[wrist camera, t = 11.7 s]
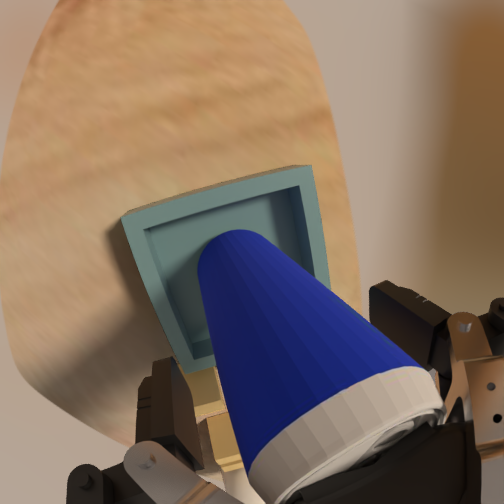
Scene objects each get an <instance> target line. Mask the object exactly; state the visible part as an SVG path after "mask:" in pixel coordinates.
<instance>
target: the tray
mask: <svg viewBox="0 0 504 504" xmlns="http://www.w3.org/2000/svg"><path fill="white" fill-rule="evenodd" d="M120 218H121V221H122V224H123V227H124V230H125V233H126V236H127V239H128V242H129V245H130V248H131V250H132V253H133V256H134V259H135V262H136V264H137V267H138V270H139V272H140V275H141V277H142V280H143V283H144V285H145V288H146V290H147V293H148V295H149V298H150V300H151V302H152V305H153V307H154V309H155V312H156V314H157V316H158V319H159V321H160V323H161V325H162V328H163V330H164V332H165V334H166V336H167V339H168V341H169V343H170V345H171V347H172V349H173V351H174V353H175V355H176V357H177V359H178V361H179V363H180V365H181V367H182V369H183V371H184V373H185V374H189V373H192V372H196V371H200V370H203V369H207V368H210V367H213V366H217V365H216V361H215V357H214V352H213V348H212V343H211V339H210V334H209V330H208V325H207V320H206V316H205V311H204V306H203V301H202V296H201V291H200V285H199V280H198V275H197V267H198V261H199V258H200V255H201V253H202V251H203V250H204V248H205V247H206V246H207V244H208V243H209V242H210V241H211V240H212V239H214V238H215V237H216V236H218V235H220V234H222V233H224V232H227V231H230V230H236V229H244V230H250V231H253V232H256V233H258V234H260V235H262V236H263V237H264V238H266V239H267V240H268V241H270V242H271V243H272V244H273V245H275V246H276V247H277V248H278V249H280V250H281V251H282V252H283V253H285V254H286V255H287V256H288V257H290V258H291V259H292V260H293V261H295V262H296V263H297V264H298V265H300V266H301V267H302V268H303V269H305V270H306V271H307V272H308V273H310V274H311V275H312V276H313V277H314V278H316V279H317V280H318V281H319V282H321V283H322V284H323V285H324V286H326V287H327V288H328V289H329V290H331V286H330V277H329V270H328V262H327V255H326V247H325V241H324V234H323V227H322V221H321V215H320V209H319V203H318V198H317V192H316V187H315V181H314V176H313V171H312V166H311V165H292V166H287V167H283V168H278V169H274V170H270V171H265V172H261V173H257V174H253V175H249V176H245V177H241V178H237V179H233V180H229V181H225V182H221V183H218V184H214V185H210V186H207V187H203V188H200V189H196V190H193V191H189V192H186V193H183V194H179V195H176V196H173V197H169V198H166V199H163V200H160V201H157V202H153V203H150V204H147V205H144V206H141V207H138V208H135V209H132V210H129V211H128V212H127V213H125V214H124V215H123V216H122V217H120Z"/></svg>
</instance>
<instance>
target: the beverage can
mask: <svg viewBox="0 0 504 504" xmlns="http://www.w3.org/2000/svg"><path fill="white" fill-rule="evenodd" d="M197 275H198V280H199V285H200V291H201V296H202V301H203V306H204V311H205V316H206V320H207V325H208V330H209V334H210V339H211V343H212V348H213V352H214V357H215V361H216V365H217V369H218V374H219V378H220V382H221V386H222V390H223V394H224V398H225V402H226V405H227V409H228V413H229V417H230V420H231V424H232V428H233V431H234V435H235V438H236V442H237V445H238V448H239V452H240V455H241V459H242V462H243V465H244V468H245V472H246V475H247V478H248V481H249V484H250V486H251V487H252V488H253V489H254V490H255V492H256V493H257V494H258V495H259V496H260V497H261V499H262V500H263V501H264V502H265V503H266V504H292V503H293V502H294V501H296V500H297V499H299V498H300V497H302V496H301V493H300V489H303V488H306V487H308V486H311V485H313V484H316V483H318V482H320V481H323V480H325V479H327V478H330V477H332V476H334V475H338V474H342V473H346V472H350V471H354V470H357V469H361V468H364V467H368V466H371V465H373V464H375V463H376V462H377V461H379V460H380V459H381V458H382V457H383V456H384V455H385V454H386V453H387V452H388V451H389V450H390V449H391V448H392V447H393V446H394V445H395V444H396V443H397V442H398V441H399V440H400V439H402V438H403V437H405V436H406V435H408V434H409V433H411V432H412V431H414V430H415V429H417V428H418V427H419V426H421V425H422V424H424V423H425V422H426V421H427V422H428V423H429V425H430V426H431V427H434V426H437V425H440V424H444V423H445V420H446V416H447V409H446V406H445V404H444V402H443V400H442V398H441V396H440V394H439V392H438V390H437V388H436V386H435V384H434V382H433V380H432V378H431V376H430V374H429V373H428V372H427V371H426V370H425V369H424V368H423V367H421V366H420V365H419V364H418V363H417V362H416V361H414V360H413V359H412V358H411V357H410V356H409V355H407V354H406V353H405V352H404V351H403V350H402V349H400V348H399V347H398V346H397V345H396V344H394V343H393V342H392V341H391V340H390V339H389V338H387V337H386V336H385V335H384V334H383V333H381V332H380V331H379V330H378V329H377V328H375V327H374V326H373V325H372V324H371V323H369V322H368V321H367V320H366V319H365V318H363V317H362V316H361V315H360V314H359V313H357V312H356V311H355V310H354V309H352V308H351V307H350V306H349V305H348V304H346V303H345V302H344V301H343V300H342V299H340V298H339V297H338V296H337V295H335V294H334V293H333V292H332V291H331V290H329V289H328V288H327V287H326V286H324V285H323V284H322V283H321V282H319V281H318V280H317V279H316V278H314V277H313V276H312V275H311V274H310V273H308V272H307V271H306V270H305V269H303V268H302V267H301V266H300V265H298V264H297V263H296V262H295V261H293V260H292V259H291V258H290V257H288V256H287V255H286V254H285V253H283V252H282V251H281V250H280V249H278V248H277V247H276V246H275V245H273V244H272V243H271V242H270V241H268V240H267V239H266V238H264V237H263V236H262V235H260V234H258V233H256V232H253V231H250V230H244V229H236V230H230V231H227V232H224V233H222V234H220V235H218V236H216V237H215V238H214V239H212V240H211V241H210V242H209V243H208V244H207V246H206V247H205V248H204V250H203V251H202V253H201V255H200V258H199V261H198V267H197Z"/></svg>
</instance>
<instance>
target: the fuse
mask: <svg viewBox="0 0 504 504" xmlns="http://www.w3.org/2000/svg"><path fill="white" fill-rule="evenodd" d="M220 469H221V473H222V478H223V482H224V485H225V489H226V493H228V494H230V495H231V496H233V497H234V498H236V499H238V500H239V501H241V502H243V503H244V504H266V503H265V502H264V501H263V500H262V499H261V497H260V496H259V495H258V494H257V493H256V492H255V490H254V489H253V488H252V487H251V486H250V484H249V481H248V478H247V475H246V472H245V468H244V467H243V468H239V469H235V470H231V471H227V472H224V471H223V470H222V468H221V466H220Z"/></svg>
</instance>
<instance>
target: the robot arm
mask: <svg viewBox="0 0 504 504" xmlns="http://www.w3.org/2000/svg"><path fill="white" fill-rule="evenodd" d="M369 316H370V323H371V324H372V325H373V326H374V327H375V328H377V329H378V330H379V331H380V332H381V333H383V334H384V335H385V336H386V337H387V338H389V339H390V340H391V341H392V342H393V343H394V344H396V345H397V346H398V347H399V348H400V349H402V350H403V351H404V352H405V353H406V354H407V355H409V356H410V357H411V358H412V359H413V360H414V361H416V362H417V363H418V364H419V365H420V366H421V367H423V368H424V369H425V370H426V371H427V372H428V371H430V370H431V369H432V368H434V369H435V370H436V373H435V382H436V388H437V390H438V392H439V394H440V396H441V398H442V400H443V402H444V404H445V406H446V409H447V416H446V420H445V423H444V424H440V425H437V426H434V427H431V426H430V425H429V423H428V422H427V421H426V422H425V423H424V424H422V425H421V426H419V427H418V428H417V429H415V430H414V431H412V432H411V433H409V434H408V435H406V436H405V437H403V438H402V439H400V440H399V441H398V442H397V443H396V444H395V445H394V446H393V447H392V448H391V449H390V450H389V451H388V452H387V453H386V454H385V455H384V456H383V457H382V458H381V459H380V460H379V461H377V462H376V463H375V464H373V465H371V466H368V467H364V468H361V469H357V470H354V471H350V472H346V473H342V474H338V475H334V476H332V477H330V478H327V479H325V480H323V481H320V482H318V483H316V484H313V485H311V486H308V487H306V488H303V489H300V493H301V496H302V497H300V498H299V499H297V500H296V501H294V502H293V503H292V504H504V298H496V299H494V300H493V301H492V302H491V305H490V309H489V312H488V313H486V314H483V315H481V316H478V317H477V316H475V315H474V314H472V313H468V312H457V313H454V314H453V315H452V314H450V313H449V312H447V311H445V310H444V309H442V308H441V307H439V306H437V305H436V304H434V303H432V302H431V301H429V300H428V301H427V299H426V298H424V297H423V296H420V295H419V294H418V293H416V292H414V291H413V290H411V289H407V288H403V287H398V286H396V285H395V284H393V283H391V282H390V281H388V280H385V281H383V282H381V283H378V284H376V285H374V286H372V287H371V288H370V290H369ZM137 409H138V410H137V417H136V439H135V445H133V446H132V447H131V448H129V450H128V451H127V452H126V454H125V456H124V461H123V462H122V463H120V464H117V465H115V466H112V467H110V468H107V469H104V470H102V471H100V470H99V469H98V468H97V467H95V466H94V465H90V464H83V465H80V466H78V467H76V468H75V469H74V470H73V471H72V472H71V473H70V475H69V477H68V482H67V497H66V504H244V503H243V502H241V501H239V500H238V499H236V498H234V497H233V496H231V495H230V494H228V493H226V492H225V491H223V490H222V489H220V488H219V487H217V486H216V485H214V484H212V483H211V482H207V481H205V480H204V479H202V478H201V477H200V476H198V475H197V474H196V473H195V471H197V470H202V469H204V464H203V459H202V453H201V448H200V442H199V436H198V430H197V424H196V418H195V411H194V404H193V398H192V394H191V391H190V388H189V386H188V384H187V382H186V380H185V378H184V377H183V375H182V373H181V371H180V369H179V367H178V365H177V363H176V361H175V359H174V358H173V357H169V358H165V359H162V360H158V361H154V362H153V366H152V376H150V377H145V378H144V379H143V381H142V383H141V385H140V387H139V389H138V402H137Z"/></svg>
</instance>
